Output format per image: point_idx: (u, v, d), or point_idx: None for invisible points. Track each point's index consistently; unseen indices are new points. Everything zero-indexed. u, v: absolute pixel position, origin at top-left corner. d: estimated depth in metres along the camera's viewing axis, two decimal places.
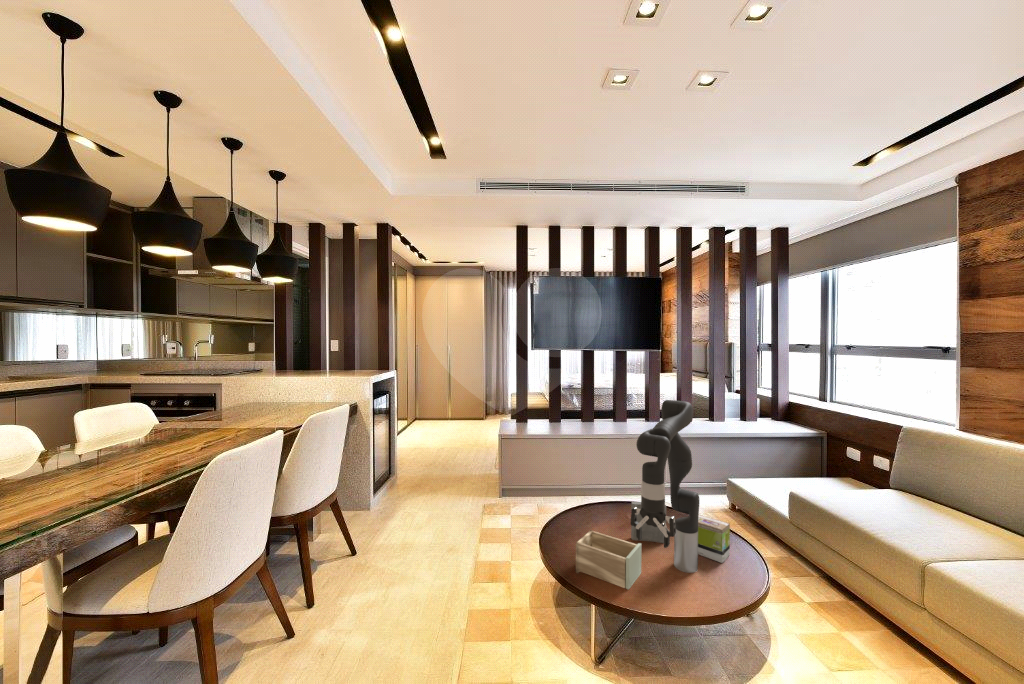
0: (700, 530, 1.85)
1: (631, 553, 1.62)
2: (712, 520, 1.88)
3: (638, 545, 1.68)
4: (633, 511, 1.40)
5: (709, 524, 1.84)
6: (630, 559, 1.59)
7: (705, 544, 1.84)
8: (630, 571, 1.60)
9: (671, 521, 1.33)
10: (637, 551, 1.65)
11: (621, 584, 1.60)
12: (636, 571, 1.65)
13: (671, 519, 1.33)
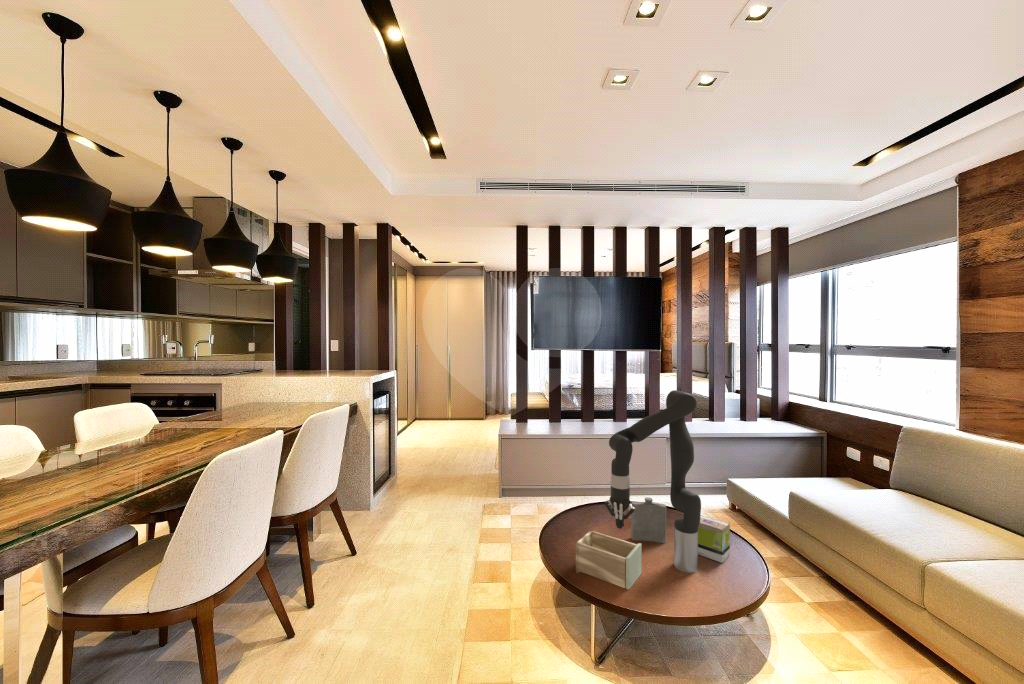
0: (700, 530, 1.85)
1: (631, 553, 1.62)
2: (712, 520, 1.88)
3: (638, 545, 1.68)
4: (606, 504, 1.69)
5: (709, 524, 1.84)
6: (630, 559, 1.59)
7: (705, 544, 1.84)
8: (630, 571, 1.60)
9: (631, 511, 1.63)
10: (637, 551, 1.65)
11: (621, 584, 1.60)
12: (636, 571, 1.65)
13: (632, 510, 1.63)
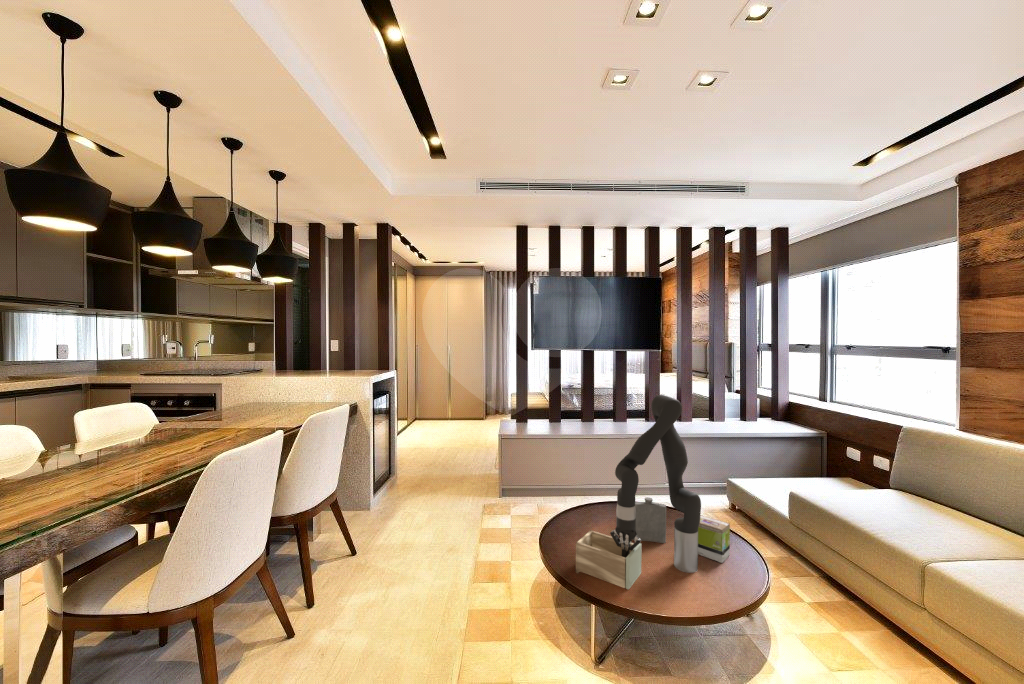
0: (700, 530, 1.85)
1: (631, 553, 1.62)
2: (712, 520, 1.88)
3: (638, 545, 1.68)
4: (612, 534, 1.68)
5: (709, 524, 1.84)
6: (630, 559, 1.59)
7: (705, 544, 1.84)
8: (630, 571, 1.60)
9: (637, 542, 1.62)
10: (637, 551, 1.65)
11: (621, 584, 1.60)
12: (636, 571, 1.65)
13: (638, 541, 1.62)
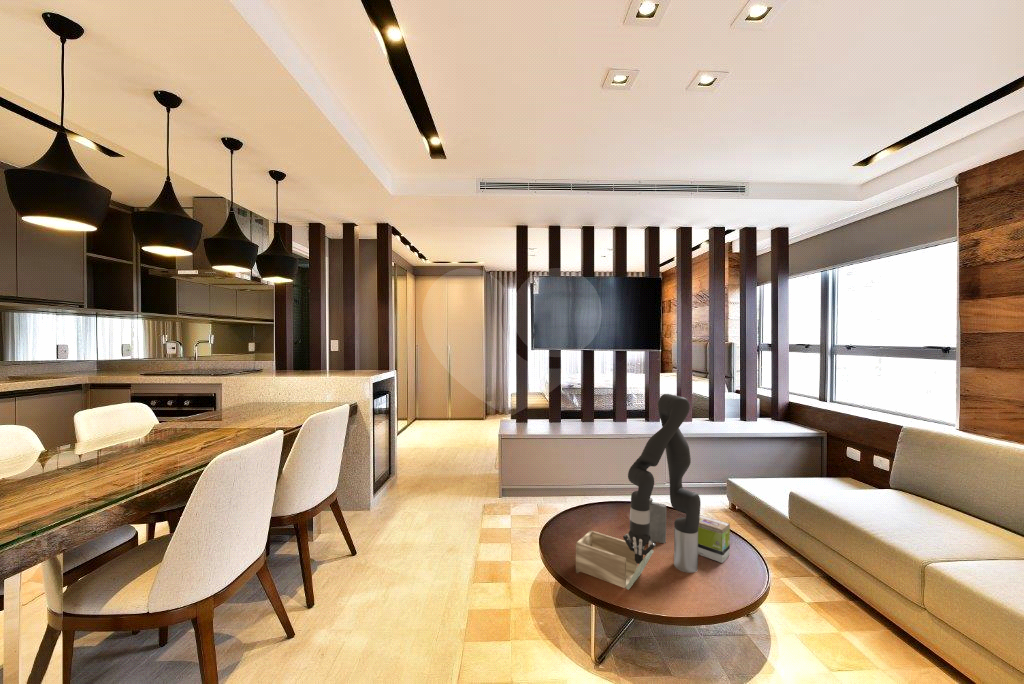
0: (700, 530, 1.85)
1: (644, 560, 1.59)
2: (712, 520, 1.88)
3: (650, 552, 1.65)
4: (625, 538, 1.65)
5: (709, 524, 1.84)
6: (642, 566, 1.56)
7: (705, 544, 1.84)
8: (637, 575, 1.58)
9: (651, 547, 1.58)
10: (648, 558, 1.63)
11: (621, 584, 1.60)
12: (639, 574, 1.64)
13: (653, 546, 1.58)
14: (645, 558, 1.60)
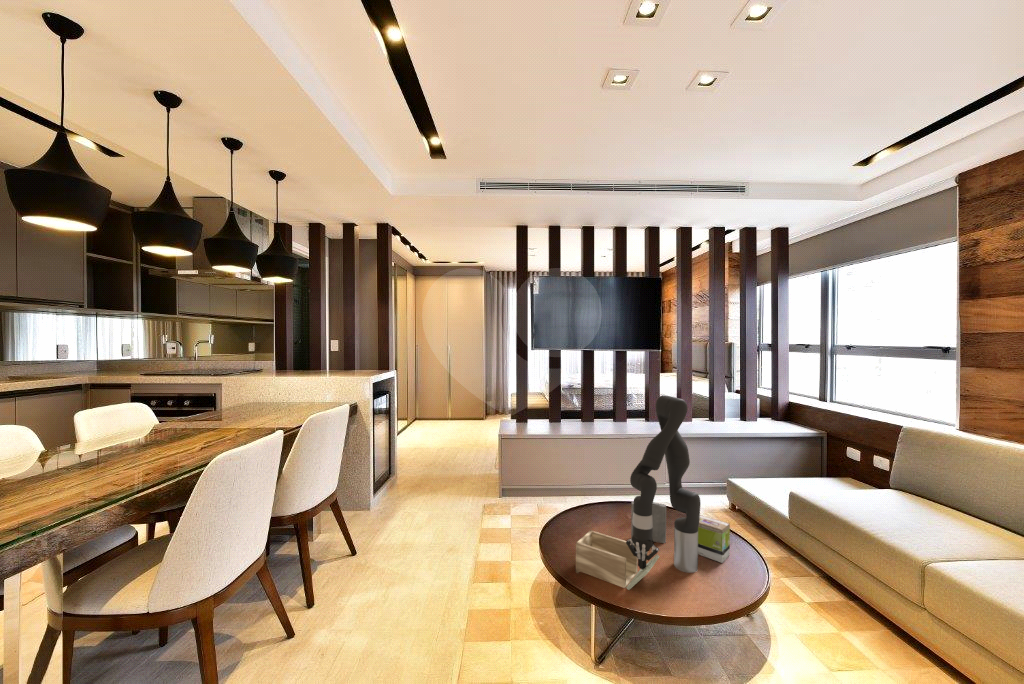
0: (700, 530, 1.85)
1: (650, 566, 1.57)
2: (712, 520, 1.88)
3: (656, 557, 1.64)
4: (628, 543, 1.64)
5: (709, 524, 1.84)
6: (647, 572, 1.55)
7: (705, 544, 1.84)
8: None
9: (655, 552, 1.58)
10: (654, 563, 1.62)
11: (621, 584, 1.60)
12: None
13: (656, 551, 1.58)
14: (651, 564, 1.59)
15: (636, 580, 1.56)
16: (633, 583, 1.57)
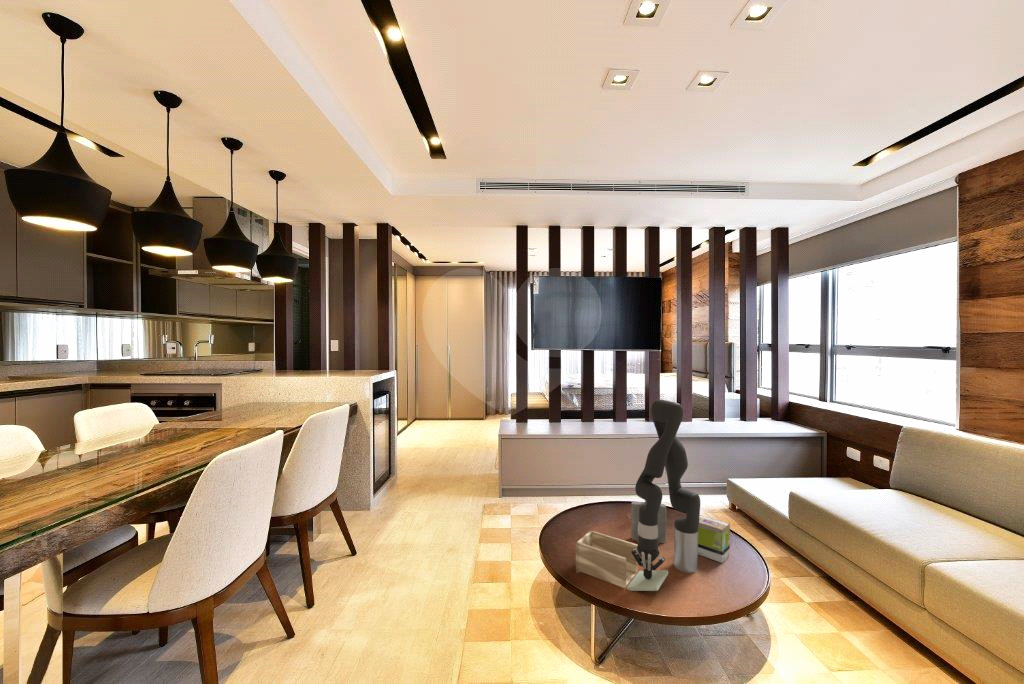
0: (700, 530, 1.85)
1: (660, 583, 1.55)
2: (712, 520, 1.88)
3: (666, 574, 1.61)
4: (633, 553, 1.63)
5: (709, 524, 1.84)
6: None
7: (705, 544, 1.84)
8: None
9: (661, 562, 1.56)
10: None
11: (621, 584, 1.60)
12: None
13: (662, 561, 1.56)
14: (661, 581, 1.56)
15: (641, 588, 1.55)
16: (636, 589, 1.56)
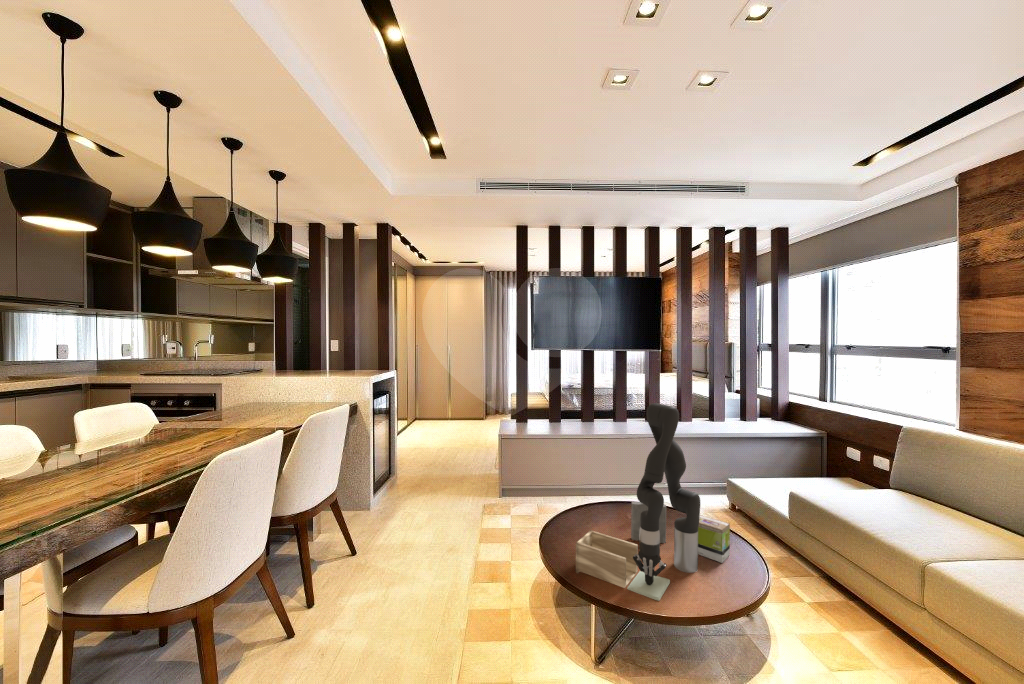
0: (700, 530, 1.85)
1: (662, 593, 1.55)
2: (712, 520, 1.88)
3: (668, 583, 1.61)
4: (634, 558, 1.62)
5: (709, 524, 1.84)
6: None
7: (705, 544, 1.84)
8: None
9: (662, 568, 1.56)
10: None
11: (621, 584, 1.60)
12: None
13: (663, 567, 1.56)
14: (663, 591, 1.56)
15: (642, 593, 1.55)
16: (637, 592, 1.56)
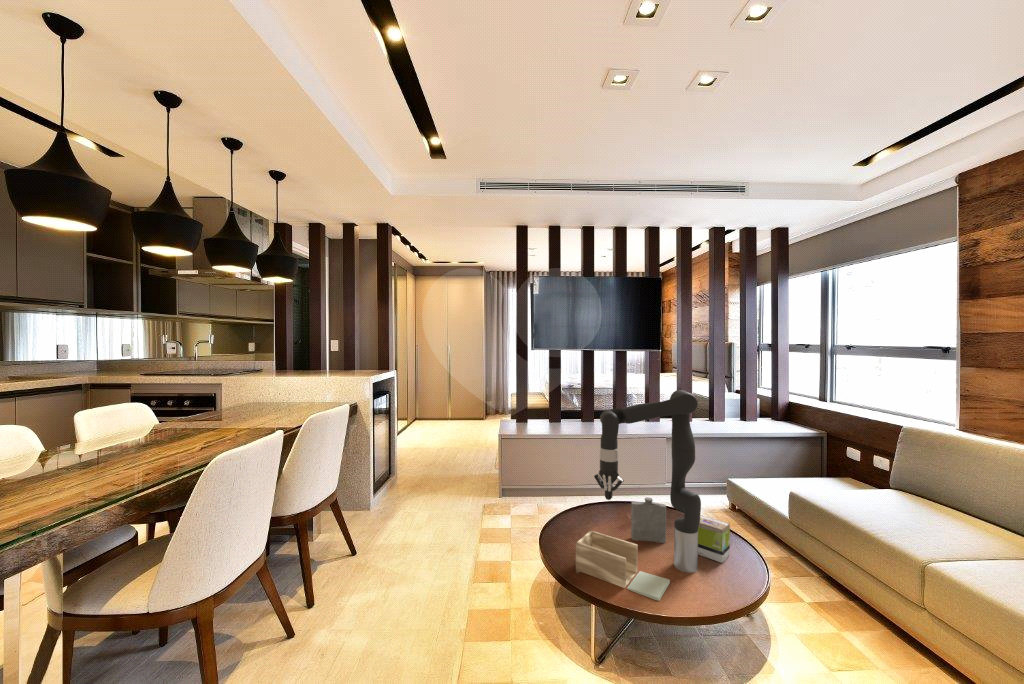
0: (700, 530, 1.85)
1: (662, 593, 1.55)
2: (712, 520, 1.88)
3: (668, 583, 1.61)
4: (595, 477, 1.77)
5: (709, 524, 1.84)
6: None
7: (705, 544, 1.84)
8: None
9: (619, 482, 1.71)
10: None
11: (621, 584, 1.60)
12: None
13: (620, 481, 1.71)
14: (663, 591, 1.56)
15: (642, 593, 1.55)
16: (637, 592, 1.56)
